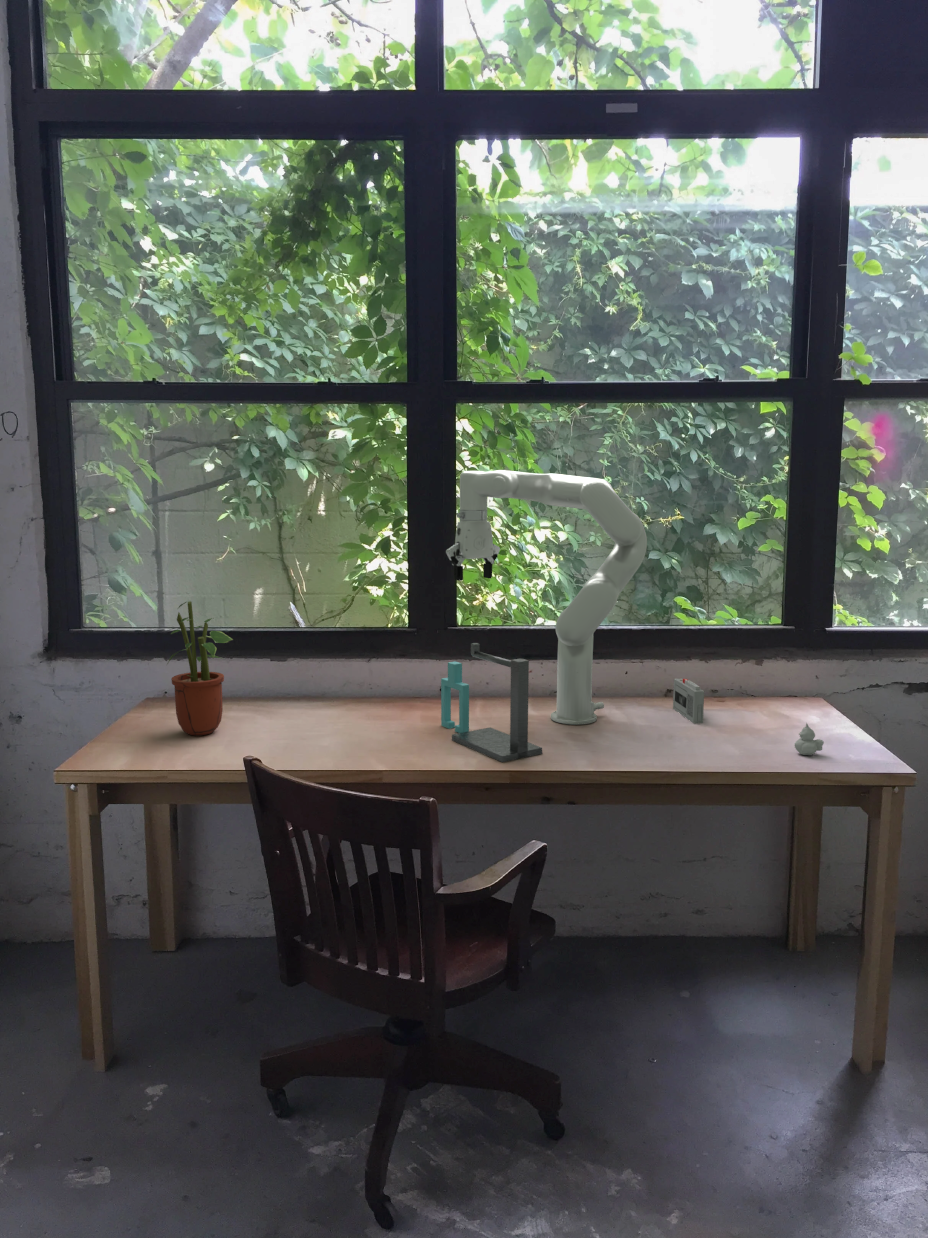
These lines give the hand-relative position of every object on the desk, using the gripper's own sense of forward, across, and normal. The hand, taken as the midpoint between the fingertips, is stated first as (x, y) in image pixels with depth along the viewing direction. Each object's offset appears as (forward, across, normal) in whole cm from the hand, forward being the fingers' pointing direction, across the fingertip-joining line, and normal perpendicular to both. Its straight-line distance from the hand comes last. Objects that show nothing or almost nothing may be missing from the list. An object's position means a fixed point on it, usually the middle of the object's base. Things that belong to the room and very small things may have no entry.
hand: (473, 579), depth 249 cm
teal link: (+38, -13, -10) cm, 42 cm away
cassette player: (+39, +49, -35) cm, 72 cm away
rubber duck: (+39, +46, -76) cm, 97 cm away
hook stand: (+38, -13, -29) cm, 50 cm away
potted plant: (+38, -69, +27) cm, 84 cm away
